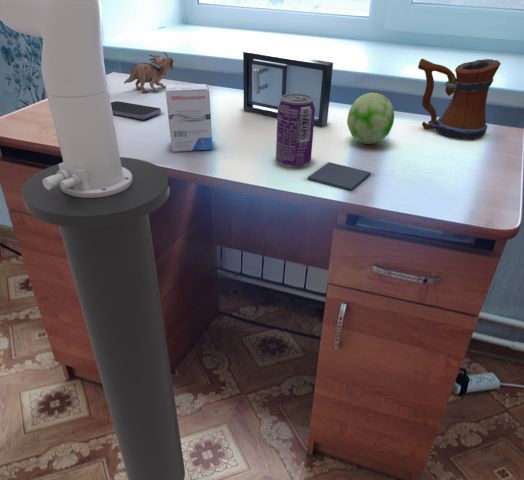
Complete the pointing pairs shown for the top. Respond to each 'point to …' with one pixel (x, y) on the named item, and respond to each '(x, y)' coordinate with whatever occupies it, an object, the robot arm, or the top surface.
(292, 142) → the beverage can
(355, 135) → the decorative ball
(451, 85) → the mug
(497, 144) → the top surface
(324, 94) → the window frame
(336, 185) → the coaster
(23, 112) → the top surface
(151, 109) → the smartphone
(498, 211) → the top surface
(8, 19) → the robot arm
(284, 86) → the sash
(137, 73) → the dinosaur figurine
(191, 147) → the ink box
